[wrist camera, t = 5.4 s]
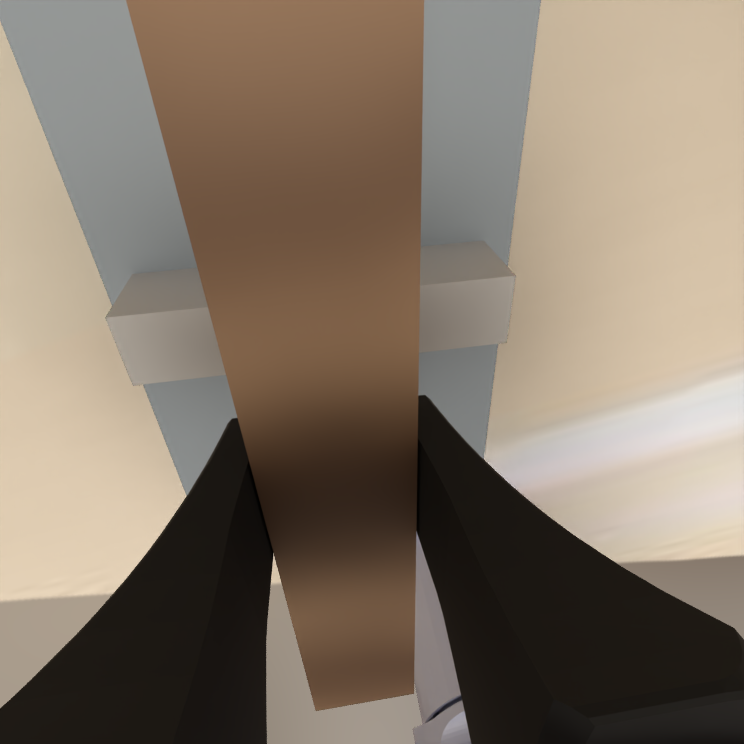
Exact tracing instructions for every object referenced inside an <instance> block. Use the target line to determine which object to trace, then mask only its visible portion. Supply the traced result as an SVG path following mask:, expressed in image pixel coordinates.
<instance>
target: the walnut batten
mask: <svg viewBox="0 0 744 744" xmlns="http://www.w3.org/2000/svg"><path fill="white" fill-rule="evenodd" d="M126 3H127V6H128V10H129V14H130V17H131V21H132V25H133V29H134V32H135V36H136V40H137V44H138V47H139V51H140V55H141V59H142V62H143V66H144V70H145V74H146V77H147V81H148V85H149V89H150V92H151V96H152V100H153V104H154V107H155V111H156V115H157V119H158V122H159V126H160V130H161V133H162V137H163V141H164V145H165V148H166V152H167V156H168V160H169V163H170V167H171V171H172V175H173V178H174V182H175V186H176V190H177V193H178V197H179V201H180V205H181V208H182V212H183V216H184V220H185V223H186V227H187V231H188V234H189V238H190V242H191V246H192V249H193V253H194V257H195V261H196V264H197V268H198V272H199V276H200V279H201V283H202V287H203V291H204V294H205V298H206V302H207V306H208V309H209V313H210V317H211V321H212V324H213V328H214V332H215V335H216V339H217V343H218V347H219V350H220V354H221V358H222V362H223V365H224V369H225V373H226V377H227V380H228V384H229V388H230V392H231V395H232V399H233V403H234V407H235V410H236V414H237V418H238V422H239V425H240V429H241V433H242V437H243V440H244V444H245V448H246V451H247V455H248V459H249V463H250V466H251V470H252V474H253V478H254V481H255V485H256V489H257V493H258V496H259V500H260V504H261V508H262V511H263V515H264V519H265V523H266V526H267V530H268V534H269V538H270V541H271V545H272V549H273V552H274V556H275V560H276V564H277V567H278V571H279V575H280V579H281V582H282V586H283V590H284V593H285V597H286V601H287V605H288V608H289V612H290V616H291V620H292V624H293V627H294V631H295V634H296V639H297V642H298V646H299V650H300V654H301V657H302V661H303V665H304V668H305V672H306V676H307V680H308V683H309V687H310V691H311V695H312V698H313V702H314V705H315V710H316V711H319V710H325V709H330V708H336V707H341V706H347V705H353V704H358V703H364V702H370V701H375V700H381V699H387V698H392V697H398V696H404V695H409V694H414V660H415V592H416V524H417V456H418V388H419V320H420V251H421V183H422V115H423V47H424V0H126Z"/></svg>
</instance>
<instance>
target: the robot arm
mask: <svg viewBox="0 0 744 744" xmlns="http://www.w3.org/2000/svg"><path fill="white" fill-rule="evenodd" d="M272 563H273V549H272V545H271V541H270V538H269V534H268V530H267V526H266V523H265V519H264V515H263V511H262V508H261V504H260V500H259V496H258V493H257V489H256V485H255V481H254V478H253V474H252V470H251V466H250V463H249V459H248V455H247V451H246V448H245V444H244V440H243V437H242V433H241V429H240V425H239V422H238V418H232V419H231V420H230V421H229V422H228V424H227V426H226V428H225V430H224V432H223V434H222V436H221V438H220V440H219V442H218V443H217V445H216V447H215V449H214V451H213V453H212V454H211V456H210V458H209V460H208V462H207V463H206V465H205V467H204V469H203V470H202V472H201V474H200V475H199V477H198V479H197V480H196V482H195V483H194V485H193V487H192V488H191V490H190V492H189V493H188V495H187V497H186V498H185V500H184V501H183V503H182V504H181V506H180V507H179V509H178V510H177V511H176V513H175V514H174V516H173V517H172V519H171V520H170V522H169V523H168V525H167V526H166V528H165V529H164V530H163V532H162V533H161V535H160V536H159V537H158V539H157V540H156V541H155V543H154V544H153V546H152V547H151V548H150V550H149V551H148V552H147V553H146V555H145V556H144V557H143V559H142V560H141V561H140V562H139V564H138V565H137V566H136V567H135V569H134V570H133V571H132V572H131V574H130V575H129V576H128V577H127V578H126V580H125V581H124V582H123V583H122V584H121V585H120V587H119V588H118V589H117V590H116V591H115V592H114V593H113V595H112V596H111V597H110V598H109V599H108V600H107V601H106V603H105V604H104V605H103V606H102V607H101V608H100V610H99V611H98V612H97V613H96V614H95V615H94V616H93V617H92V618H91V620H90V621H89V622H88V623H87V624H86V625H85V626H84V627H83V628H82V629H81V630H80V631H79V632H78V633H77V635H76V636H74V637H73V638H72V639H71V640H70V641H69V643H67V644H66V645H65V646H64V647H63V648H62V650H60V651H59V652H58V653H57V654H56V655H55V656H54V657H53V659H51V660H50V662H48V664H46V665H45V666H44V667H43V668H42V669H41V670H40V671H39V672H38V673H37V674H36V676H34V677H33V678H32V680H30V681H29V682H28V683H27V684H26V685H25V686H24V687H23V688H22V689H21V690H20V691H19V692H18V693H17V694H16V695H15V696H13V697H12V698H11V700H9V701H8V702H7V703H6V704H5V705H4V706H2V707H1V708H0V744H267V730H266V729H267V727H266V635H267V617H268V606H269V596H270V585H271V574H272ZM414 682H415V687H416V692H417V698H418V703H419V707H420V713H421V718H422V723H423V724H422V725H420V726H417V727H414V728H413V734H414V739H415V744H744V639H743V638H742V637H741V636H740V635H739V633H738V632H737V631H736V630H735V629H734V628H733V627H731V626H729V625H727V624H725V623H723V622H721V621H720V620H718V619H716V618H714V617H712V616H710V615H708V614H706V613H704V612H702V611H700V610H698V609H696V608H695V607H693V606H691V605H689V604H687V603H685V602H683V601H681V600H679V599H677V598H675V597H673V596H671V595H670V594H668V593H666V592H664V591H662V590H660V589H659V588H657V587H655V586H654V585H652V584H650V583H648V582H647V581H645V580H643V579H641V578H639V577H638V576H637V575H635V574H633V573H631V572H630V571H628V570H626V569H625V568H623V567H621V566H620V565H618V564H617V563H615V562H614V561H612V560H611V559H609V558H608V557H606V556H605V555H603V554H601V553H600V552H598V551H597V550H595V549H594V548H592V547H591V546H589V545H588V544H586V543H585V542H583V541H582V540H580V539H579V538H577V537H576V536H574V535H573V534H572V533H570V532H569V531H568V530H566V529H565V528H563V527H562V526H561V525H559V524H558V523H557V522H555V521H554V520H553V519H551V518H550V517H549V516H547V515H546V514H545V513H544V512H542V511H541V510H540V509H539V508H537V507H536V506H535V505H534V504H532V503H531V502H530V501H529V500H528V499H526V498H525V497H524V496H523V495H522V494H520V493H519V492H518V491H517V490H516V489H515V488H514V487H512V486H511V485H510V484H509V483H508V482H507V481H506V480H505V479H504V478H503V477H502V476H500V475H499V474H498V473H497V472H496V471H495V470H494V469H493V468H492V467H491V466H490V465H489V464H488V463H487V462H486V461H485V460H484V459H483V458H482V457H481V456H480V455H479V454H478V453H477V452H476V451H475V450H474V449H473V448H472V447H471V446H470V445H469V444H468V443H467V442H466V441H465V440H464V438H463V437H462V436H461V435H460V434H459V433H458V432H457V431H456V430H455V428H454V427H453V426H452V425H451V424H450V423H449V422H448V420H447V419H446V418H445V417H444V416H443V414H442V413H441V412H440V411H439V410H438V408H437V407H436V406H435V405H434V403H433V402H432V401H431V400H430V398H428V397H427V396H426V395H419V396H418V456H417V524H416V592H415V660H414Z"/></svg>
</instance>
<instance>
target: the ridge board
mask: <svg viewBox="0 0 744 744" xmlns="http://www.w3.org/2000/svg"><path fill="white" fill-rule="evenodd" d="M540 3H541V0H424V47H423V115H422V183H421V251H420V320H419V388H418V396H419V395H426V396H427V397H428V398H430V400H431V401H432V402H433V403H434V405H435V406H436V407H437V408H438V410H439V411H440V412H441V413H442V414H443V416H444V417H445V418H446V419H447V420H448V422H449V423H450V424H451V425H452V426H453V427H454V428H455V430H456V431H457V432H458V433H459V434H460V435H461V436H462V437H463V438H464V440H465V441H466V442H467V443H468V444H469V445H470V446H471V447H472V448H473V449H474V450H475V451H476V452H477V453H478V454H479V455H480V456H481V457H482V458H483V459H484V452H485V444H486V436H487V428H488V420H489V412H490V404H491V396H492V388H493V380H494V372H495V364H496V356H497V348H498V344H500V343H507V336H508V329H509V322H510V314H511V307H512V300H513V292H514V285H515V278H516V275H515V274H514V273H513V272H512V271H511V270H510V269H509V268H508V259H509V251H510V243H511V235H512V227H513V219H514V211H515V203H516V195H517V187H518V179H519V171H520V163H521V155H522V147H523V139H524V131H525V123H526V115H527V107H528V99H529V91H530V83H531V75H532V67H533V59H534V51H535V43H536V35H537V27H538V19H539V11H540ZM0 21H1V24H2V26H3V29H4V31H5V34H6V36H7V39H8V41H9V44H10V47H11V49H12V52H13V54H14V57H15V59H16V62H17V64H18V67H19V69H20V72H21V75H22V77H23V80H24V82H25V85H26V87H27V90H28V92H29V95H30V97H31V100H32V103H33V105H34V108H35V110H36V113H37V115H38V118H39V120H40V123H41V126H42V128H43V131H44V133H45V136H46V138H47V141H48V143H49V146H50V148H51V151H52V154H53V156H54V159H55V161H56V164H57V166H58V169H59V171H60V174H61V177H62V179H63V182H64V184H65V187H66V189H67V192H68V194H69V197H70V199H71V202H72V205H73V207H74V210H75V212H76V215H77V217H78V220H79V222H80V225H81V227H82V230H83V233H84V235H85V238H86V240H87V243H88V245H89V248H90V250H91V253H92V256H93V258H94V261H95V263H96V266H97V268H98V271H99V273H100V276H101V278H102V281H103V284H104V286H105V289H106V291H107V294H108V296H109V299H110V301H111V304H112V308H111V309H110V311H109V312H108V314H107V316H106V317H105V318H106V321H107V323H108V326H109V328H110V331H111V333H112V336H113V338H114V340H115V343H116V345H117V348H118V350H119V353H120V355H121V358H122V360H123V363H124V365H125V367H126V370H127V372H128V375H129V377H130V380H131V382H132V385H133V386H134V385H142V384H143V386H144V388H145V391H146V393H147V396H148V398H149V401H150V403H151V406H152V408H153V411H154V414H155V416H156V419H157V421H158V424H159V426H160V429H161V431H162V434H163V437H164V439H165V442H166V444H167V447H168V449H169V452H170V454H171V457H172V459H173V462H174V465H175V467H176V470H177V472H178V475H179V477H180V480H181V482H182V485H183V487H184V490H185V493H186V495H188V493H189V492H190V490H191V488H192V487H193V485H194V483H195V482H196V480H197V479H198V477H199V475H200V474H201V472H202V470H203V469H204V467H205V465H206V463H207V462H208V460H209V458H210V456H211V454H212V453H213V451H214V449H215V447H216V445H217V443H218V442H219V440H220V438H221V436H222V434H223V432H224V430H225V428H226V426H227V424H228V422H229V421H230V420H231V419H232V418H237V414H236V410H235V407H234V403H233V399H232V395H231V392H230V388H229V384H228V380H227V377H226V373H225V369H224V365H223V362H222V358H221V354H220V350H219V347H218V343H217V339H216V335H215V332H214V328H213V324H212V321H211V317H210V313H209V309H208V306H207V302H206V298H205V294H204V291H203V287H202V283H201V279H200V276H199V272H198V268H197V264H196V261H195V257H194V253H193V249H192V246H191V242H190V238H189V234H188V231H187V227H186V223H185V220H184V216H183V212H182V208H181V205H180V201H179V197H178V193H177V190H176V186H175V182H174V178H173V175H172V171H171V167H170V163H169V160H168V156H167V152H166V148H165V145H164V141H163V137H162V133H161V130H160V126H159V122H158V119H157V115H156V111H155V107H154V104H153V100H152V96H151V92H150V89H149V85H148V81H147V77H146V74H145V70H144V66H143V62H142V59H141V55H140V51H139V47H138V44H137V40H136V36H135V32H134V29H133V25H132V21H131V17H130V14H129V10H128V6H127V3H126V0H0Z"/></svg>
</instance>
